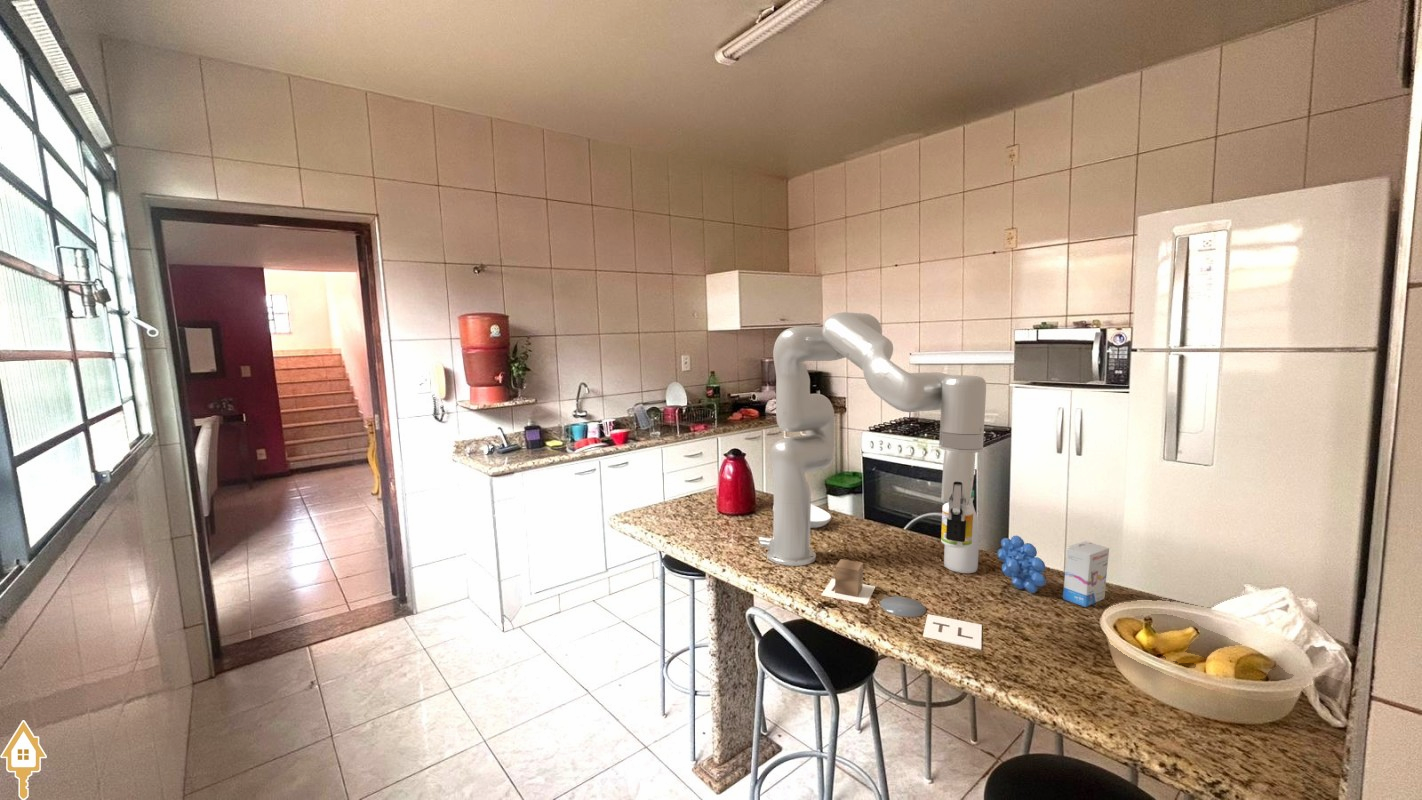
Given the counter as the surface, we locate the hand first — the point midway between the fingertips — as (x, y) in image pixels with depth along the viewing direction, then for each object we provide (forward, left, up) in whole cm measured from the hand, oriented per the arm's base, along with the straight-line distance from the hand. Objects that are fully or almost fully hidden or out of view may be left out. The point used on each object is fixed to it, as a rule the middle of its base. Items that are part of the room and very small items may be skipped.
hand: (956, 534), depth 107 cm
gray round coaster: (-10, +6, -19) cm, 22 cm away
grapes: (+12, +27, -19) cm, 35 cm away
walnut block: (-22, +9, -19) cm, 30 cm away
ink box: (+25, +28, -19) cm, 42 cm away
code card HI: (-22, +9, -19) cm, 30 cm away
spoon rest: (-48, +55, -20) cm, 75 cm away
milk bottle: (0, +35, -19) cm, 40 cm away
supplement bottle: (0, 0, -2) cm, 2 cm away
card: (0, 0, -19) cm, 19 cm away
